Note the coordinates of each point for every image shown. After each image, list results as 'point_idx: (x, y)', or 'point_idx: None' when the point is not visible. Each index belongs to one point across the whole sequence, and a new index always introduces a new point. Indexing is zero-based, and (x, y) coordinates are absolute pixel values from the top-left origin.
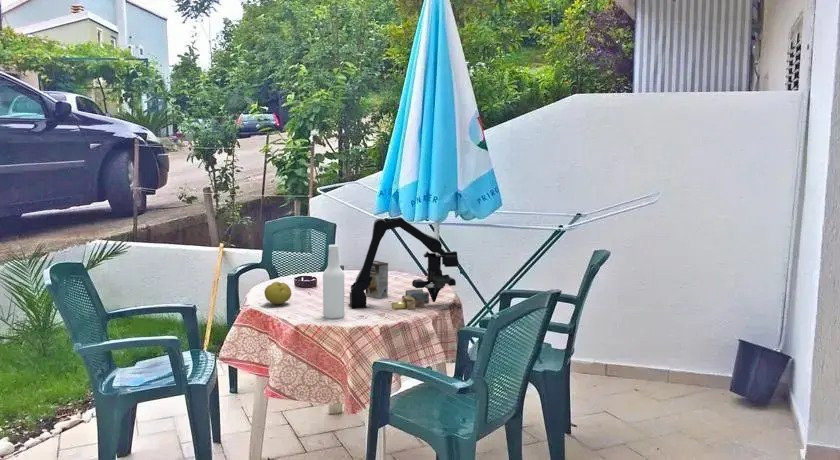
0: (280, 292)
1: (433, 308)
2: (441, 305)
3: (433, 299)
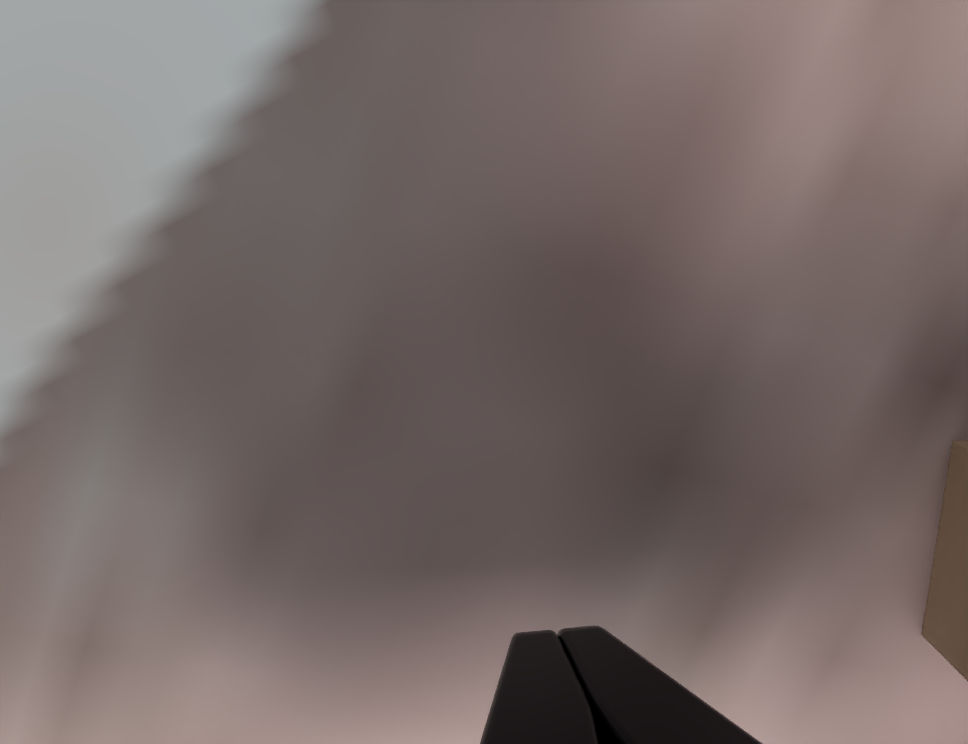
0: None
1: (749, 101)
2: (227, 494)
3: (649, 675)
